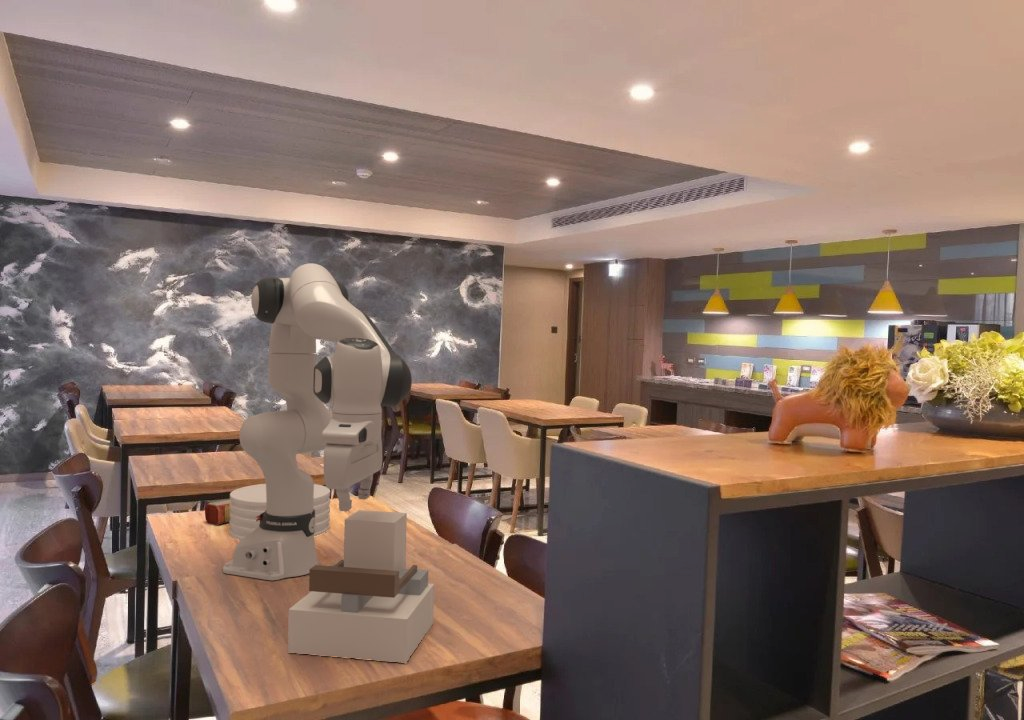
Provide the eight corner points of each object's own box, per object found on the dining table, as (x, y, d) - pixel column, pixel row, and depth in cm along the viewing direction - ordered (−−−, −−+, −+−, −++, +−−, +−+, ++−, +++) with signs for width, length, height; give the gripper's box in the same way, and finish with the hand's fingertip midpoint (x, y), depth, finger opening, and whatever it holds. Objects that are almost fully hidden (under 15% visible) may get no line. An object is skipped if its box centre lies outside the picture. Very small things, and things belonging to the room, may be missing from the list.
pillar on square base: (287, 653, 132) (289, 532, 131) (329, 614, 151) (331, 508, 150) (406, 664, 129) (408, 540, 128) (433, 623, 147) (435, 514, 147)
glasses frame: (309, 591, 133) (309, 569, 133) (340, 565, 148) (341, 545, 148) (394, 597, 130) (394, 575, 130) (417, 571, 146) (418, 551, 145)
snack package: (260, 510, 238) (260, 490, 238) (274, 513, 235) (274, 492, 235) (203, 524, 220) (203, 501, 220) (217, 527, 217) (217, 504, 216)
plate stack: (325, 516, 233) (326, 480, 232) (333, 540, 206) (334, 499, 206) (231, 521, 224) (232, 484, 223) (226, 546, 197) (227, 504, 197)
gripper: (360, 421, 143) (358, 491, 143) (317, 434, 123) (315, 516, 123) (391, 422, 142) (389, 493, 142) (353, 436, 122) (351, 519, 122)
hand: (354, 504), depth 132 cm, fingers open, 8 cm apart
